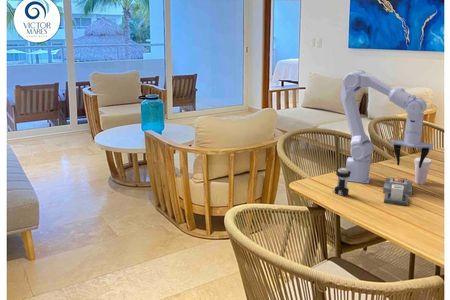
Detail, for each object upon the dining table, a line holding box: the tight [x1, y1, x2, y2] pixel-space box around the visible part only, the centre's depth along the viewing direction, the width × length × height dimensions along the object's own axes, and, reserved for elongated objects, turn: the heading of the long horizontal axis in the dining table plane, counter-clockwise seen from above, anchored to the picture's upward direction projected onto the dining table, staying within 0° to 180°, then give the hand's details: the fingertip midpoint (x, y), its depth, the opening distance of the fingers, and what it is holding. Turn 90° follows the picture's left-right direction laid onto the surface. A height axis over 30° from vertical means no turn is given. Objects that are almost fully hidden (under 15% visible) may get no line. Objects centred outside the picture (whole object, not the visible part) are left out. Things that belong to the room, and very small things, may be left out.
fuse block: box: [390, 184, 404, 201], centre depth 171 cm, size 4×4×6 cm
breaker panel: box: [382, 176, 413, 198], centre depth 183 cm, size 10×12×4 cm
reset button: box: [394, 177, 404, 183], centre depth 180 cm, size 3×3×3 cm
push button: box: [331, 167, 351, 197], centre depth 177 cm, size 7×5×10 cm
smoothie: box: [413, 156, 432, 185], centre depth 189 cm, size 6×6×14 cm
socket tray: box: [383, 192, 409, 207], centre depth 172 cm, size 8×8×1 cm
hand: (408, 165), depth 180 cm, fingers open, 7 cm apart
